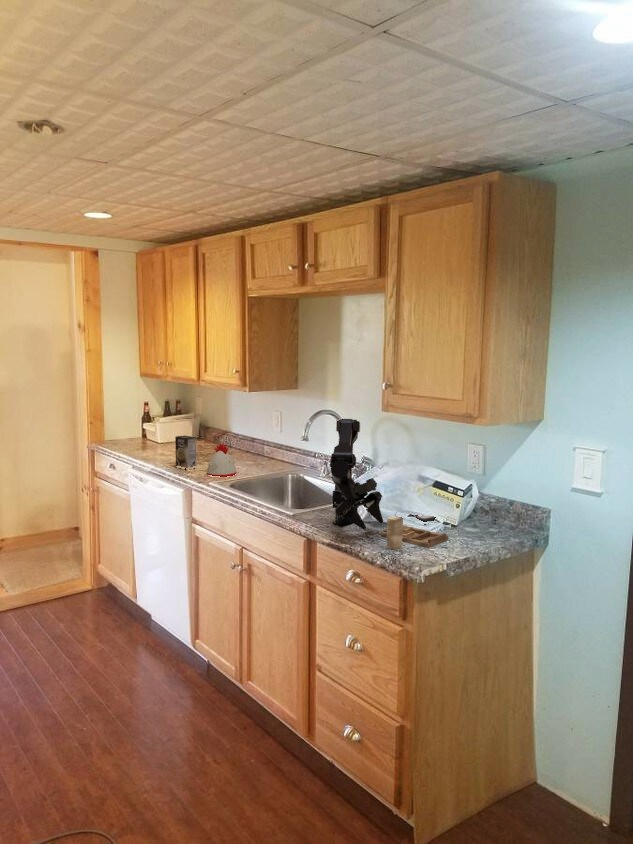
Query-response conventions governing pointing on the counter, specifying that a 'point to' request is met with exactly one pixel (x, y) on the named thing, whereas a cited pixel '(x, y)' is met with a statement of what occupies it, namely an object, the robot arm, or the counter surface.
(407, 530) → the oak offcut upper
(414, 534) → the oak offcut lower
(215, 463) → the grey pompom beanie
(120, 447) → the counter surface
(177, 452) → the coffee box
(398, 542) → the tan wooden block
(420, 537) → the rack
